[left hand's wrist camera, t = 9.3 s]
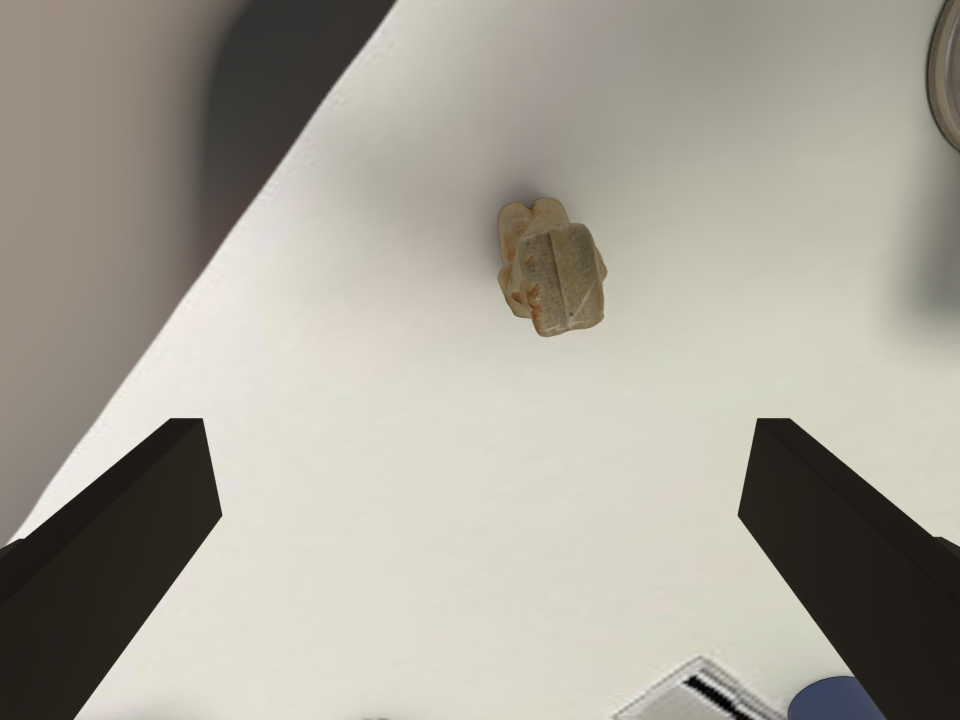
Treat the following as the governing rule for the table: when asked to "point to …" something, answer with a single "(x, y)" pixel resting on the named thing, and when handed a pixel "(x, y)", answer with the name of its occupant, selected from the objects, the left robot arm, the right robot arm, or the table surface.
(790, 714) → the can
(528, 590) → the table surface
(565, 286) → the sculpture
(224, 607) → the table surface
